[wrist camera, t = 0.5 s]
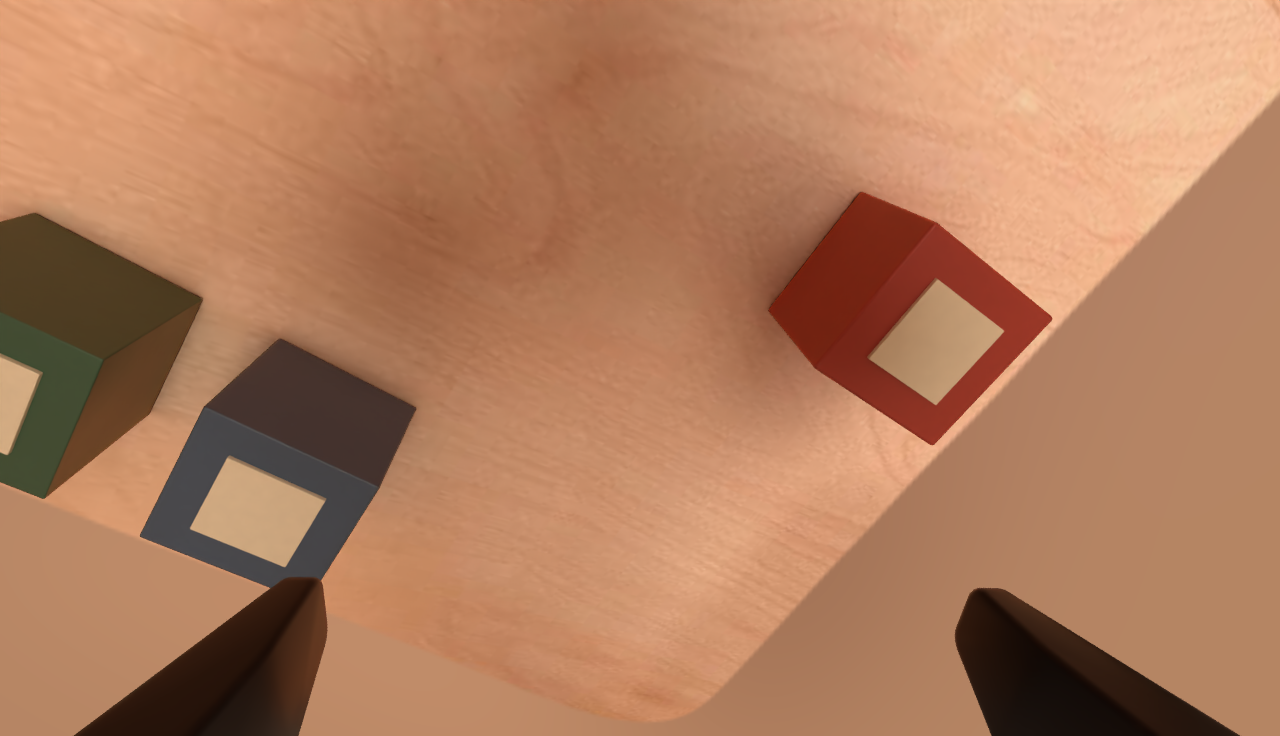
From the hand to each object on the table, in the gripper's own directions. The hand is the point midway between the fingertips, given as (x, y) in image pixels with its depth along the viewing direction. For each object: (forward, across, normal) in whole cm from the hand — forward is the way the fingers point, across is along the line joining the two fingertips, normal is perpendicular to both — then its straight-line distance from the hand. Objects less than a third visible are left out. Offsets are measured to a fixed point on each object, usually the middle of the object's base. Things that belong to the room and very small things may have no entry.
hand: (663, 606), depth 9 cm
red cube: (+15, -9, -1) cm, 17 cm away
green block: (+15, +16, +2) cm, 22 cm away
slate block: (+15, +10, +6) cm, 19 cm away
